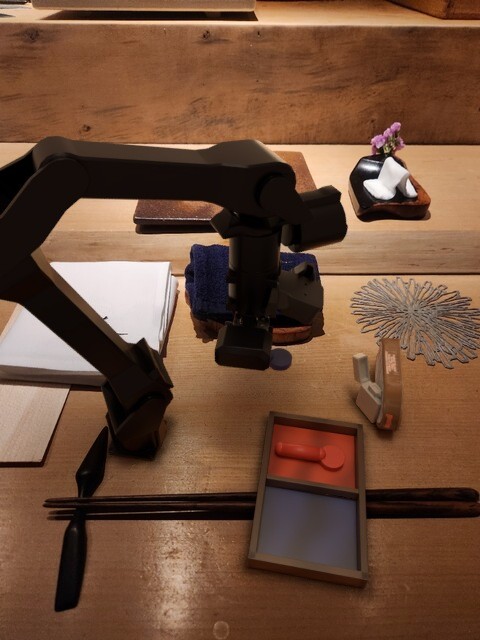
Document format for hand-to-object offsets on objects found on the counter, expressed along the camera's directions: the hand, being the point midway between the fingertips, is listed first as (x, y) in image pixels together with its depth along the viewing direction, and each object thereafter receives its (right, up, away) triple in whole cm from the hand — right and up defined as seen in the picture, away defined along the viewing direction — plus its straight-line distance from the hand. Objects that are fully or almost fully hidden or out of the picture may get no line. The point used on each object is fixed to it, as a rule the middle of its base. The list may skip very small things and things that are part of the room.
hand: (249, 353), depth 63 cm
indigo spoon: (+1, -1, +1) cm, 2 cm away
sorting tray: (+8, -18, -4) cm, 20 cm away
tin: (+20, -8, +7) cm, 23 cm away
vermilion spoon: (+8, -14, -1) cm, 16 cm away
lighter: (+18, -10, +6) cm, 21 cm away
